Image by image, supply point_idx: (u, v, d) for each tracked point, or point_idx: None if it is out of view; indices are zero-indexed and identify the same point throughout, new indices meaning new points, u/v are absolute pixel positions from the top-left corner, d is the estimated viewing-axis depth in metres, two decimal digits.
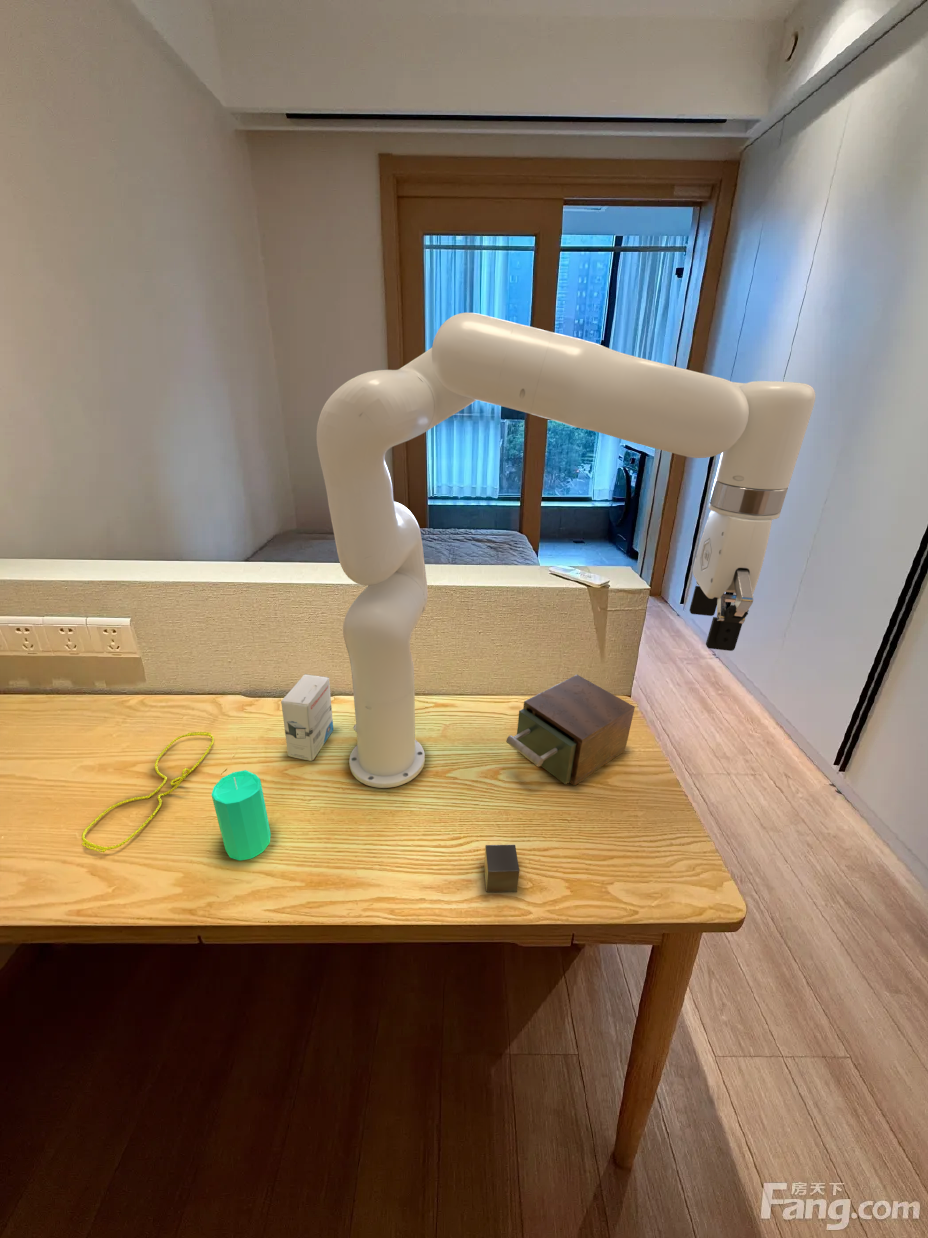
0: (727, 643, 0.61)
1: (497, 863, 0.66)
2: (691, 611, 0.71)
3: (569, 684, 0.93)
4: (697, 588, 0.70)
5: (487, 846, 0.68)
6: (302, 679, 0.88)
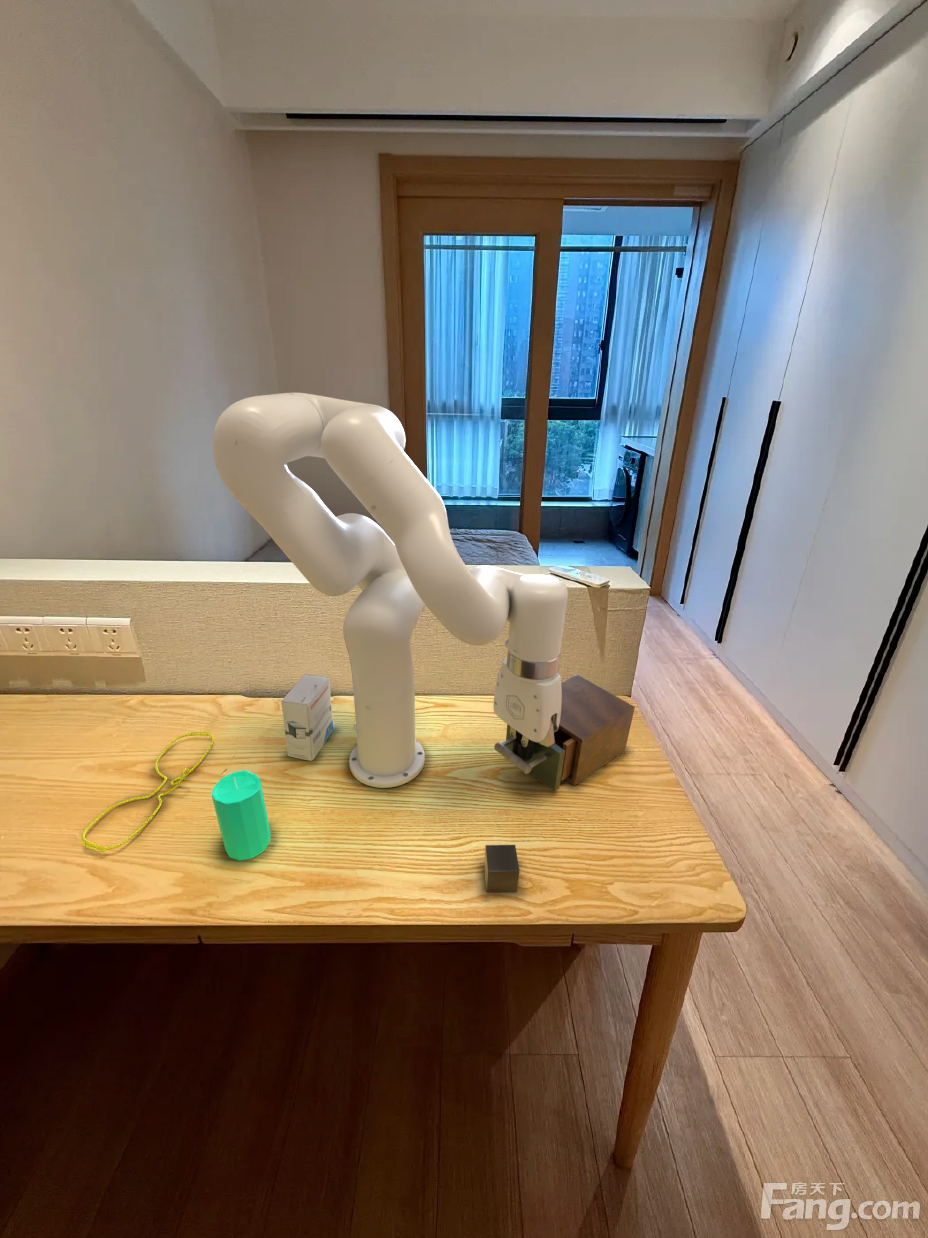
0: (531, 756, 0.81)
1: (497, 863, 0.66)
2: None
3: (569, 684, 0.93)
4: (516, 742, 0.80)
5: (487, 846, 0.68)
6: (302, 679, 0.88)
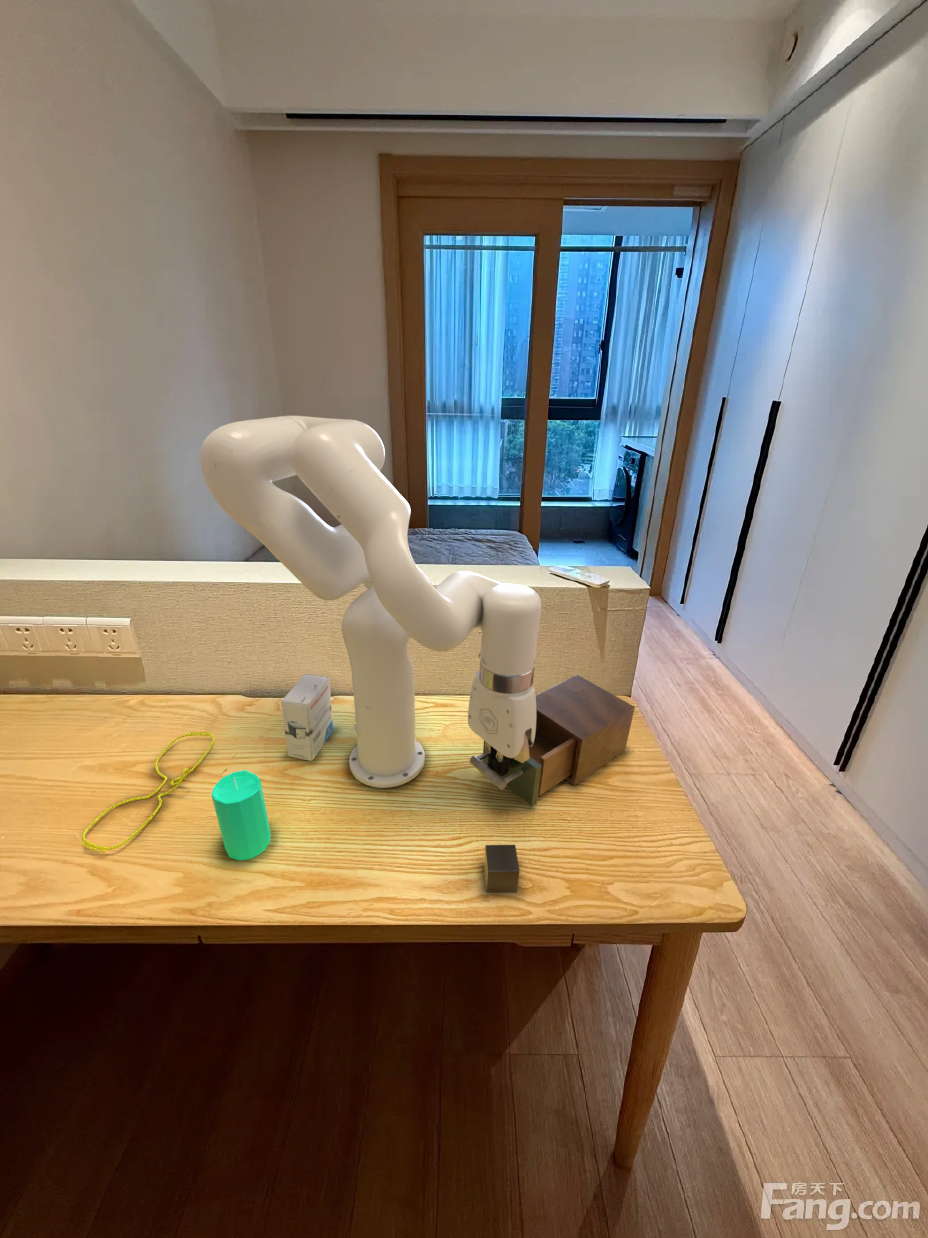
0: (506, 771, 0.78)
1: (497, 863, 0.66)
2: None
3: (569, 684, 0.93)
4: (491, 756, 0.77)
5: (487, 846, 0.68)
6: (302, 679, 0.88)
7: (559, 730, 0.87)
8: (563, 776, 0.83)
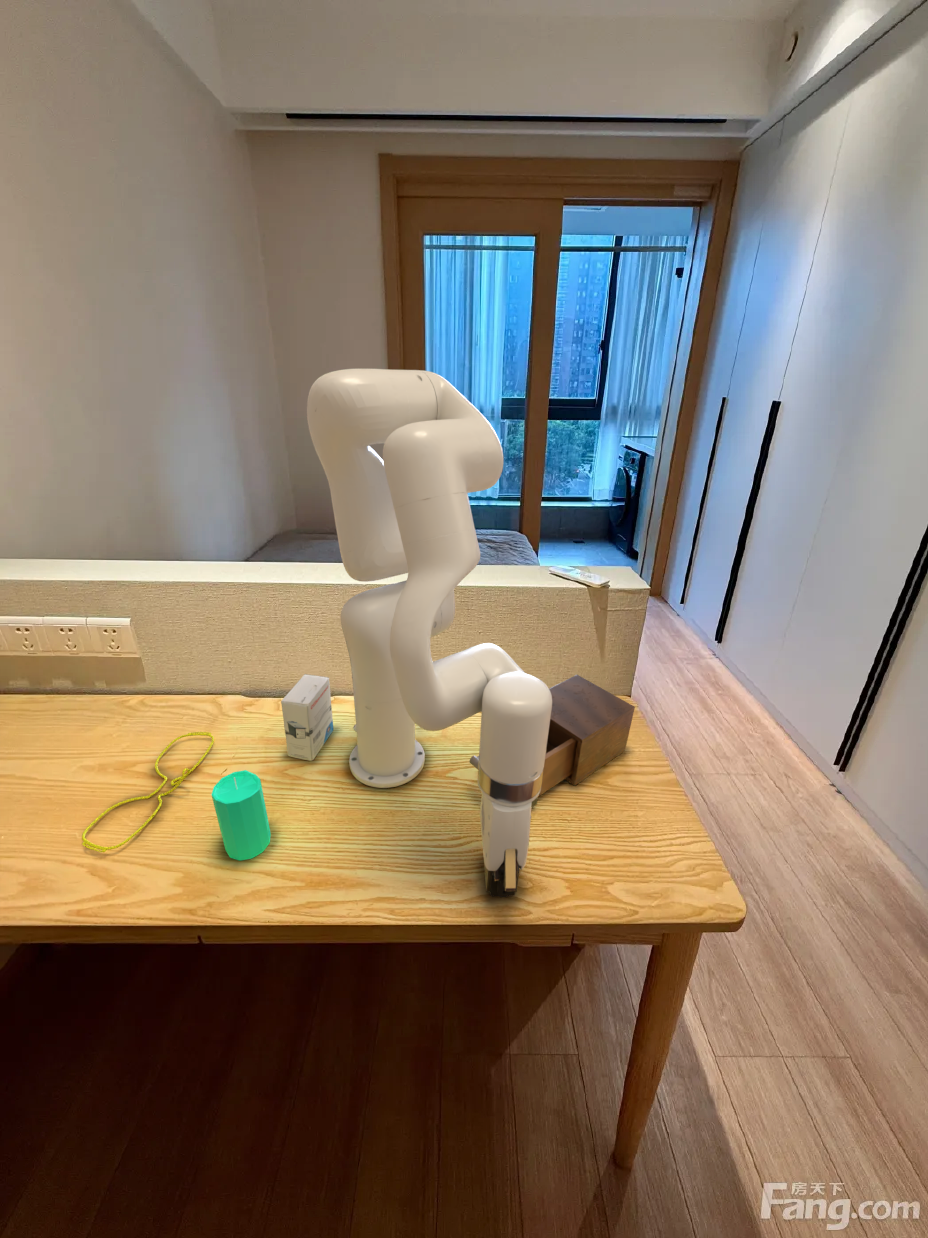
0: (506, 894, 0.65)
1: None
2: None
3: (569, 684, 0.93)
4: None
5: None
6: (302, 679, 0.88)
7: (559, 730, 0.87)
8: (563, 776, 0.83)
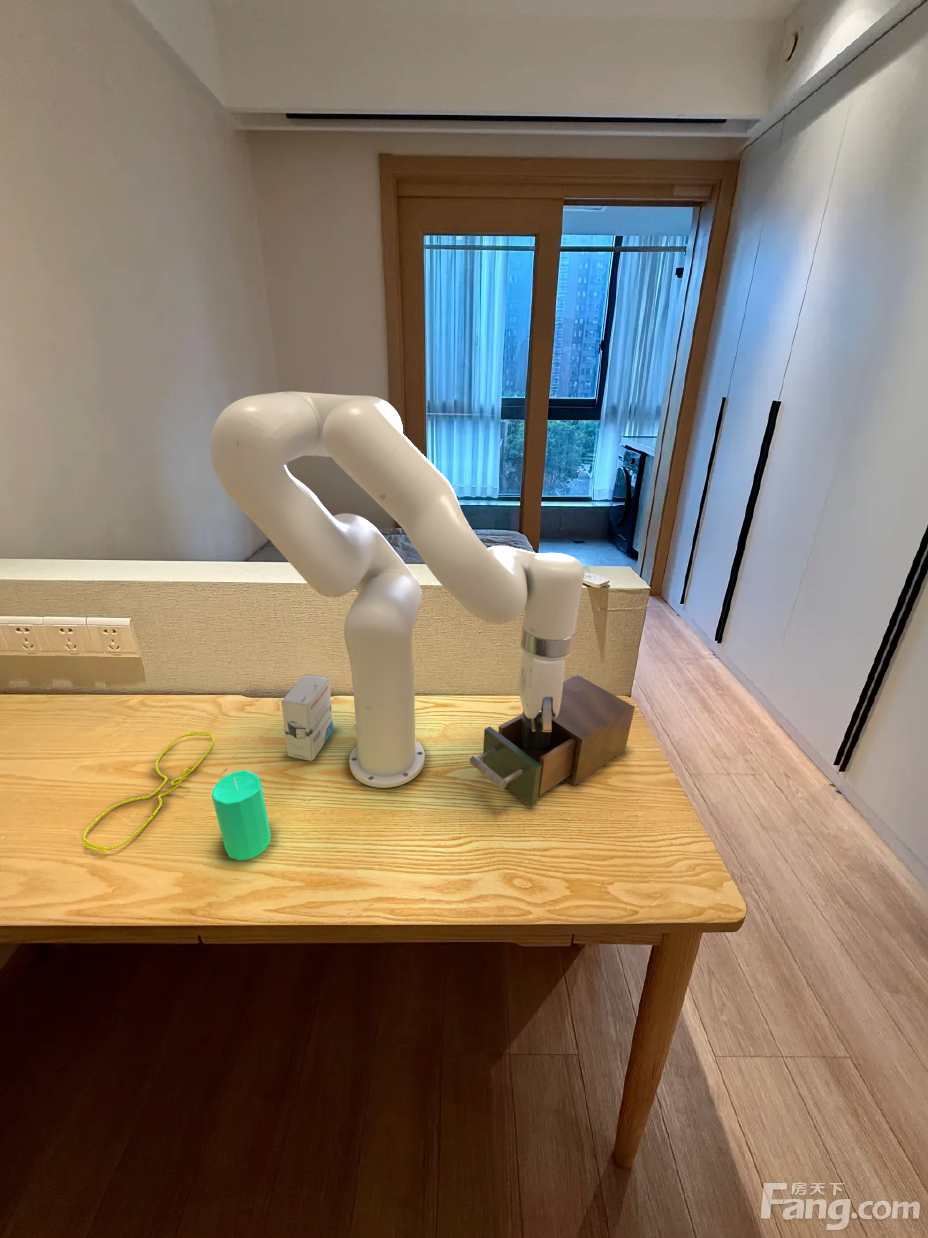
0: (540, 746, 0.79)
1: None
2: None
3: (569, 684, 0.93)
4: None
5: None
6: (302, 679, 0.88)
7: (559, 730, 0.87)
8: (563, 776, 0.83)
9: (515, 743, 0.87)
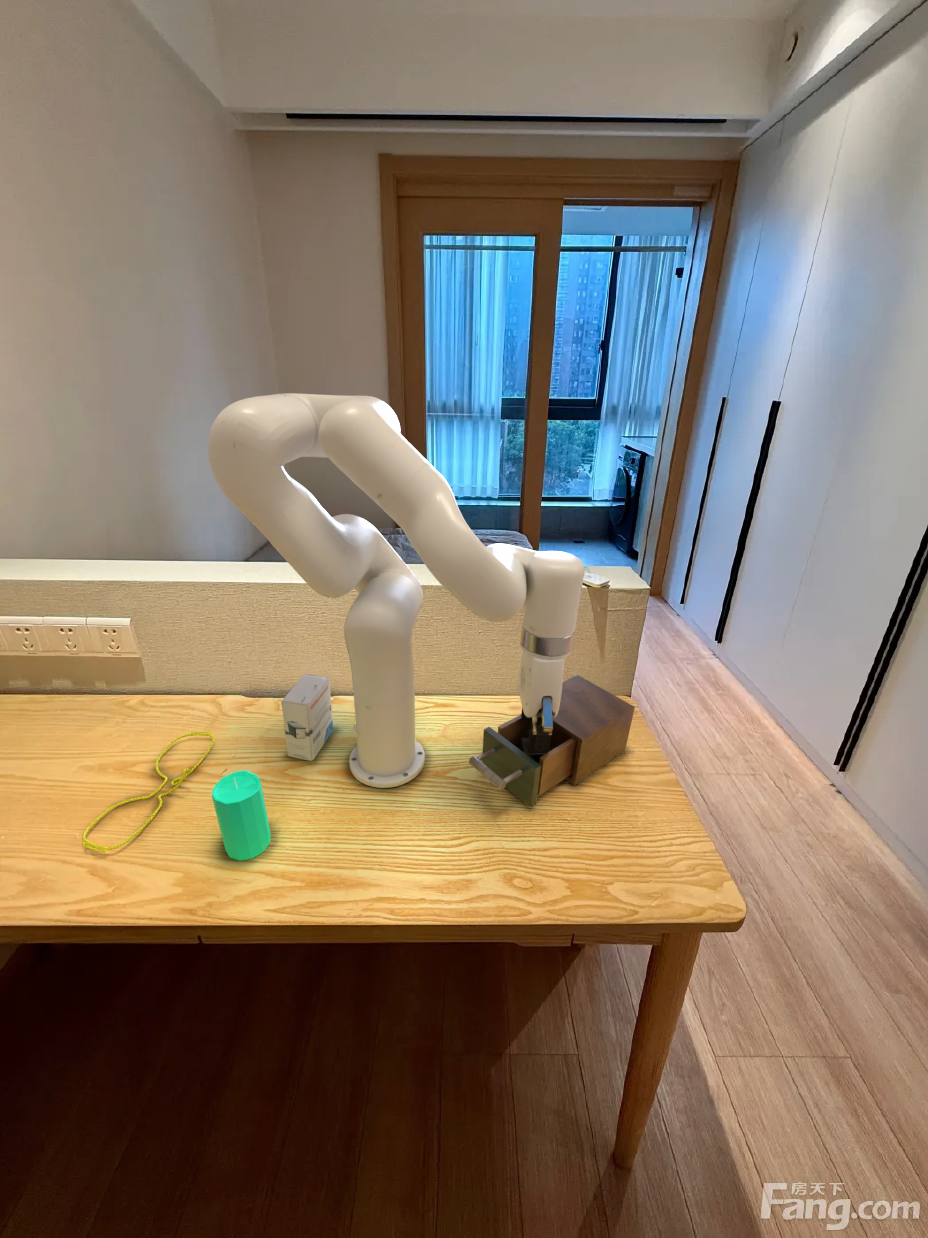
0: (542, 749, 0.77)
1: None
2: (522, 719, 0.85)
3: (569, 684, 0.93)
4: None
5: (522, 738, 0.85)
6: (302, 679, 0.88)
7: (559, 730, 0.87)
8: (562, 776, 0.83)
9: (514, 743, 0.87)
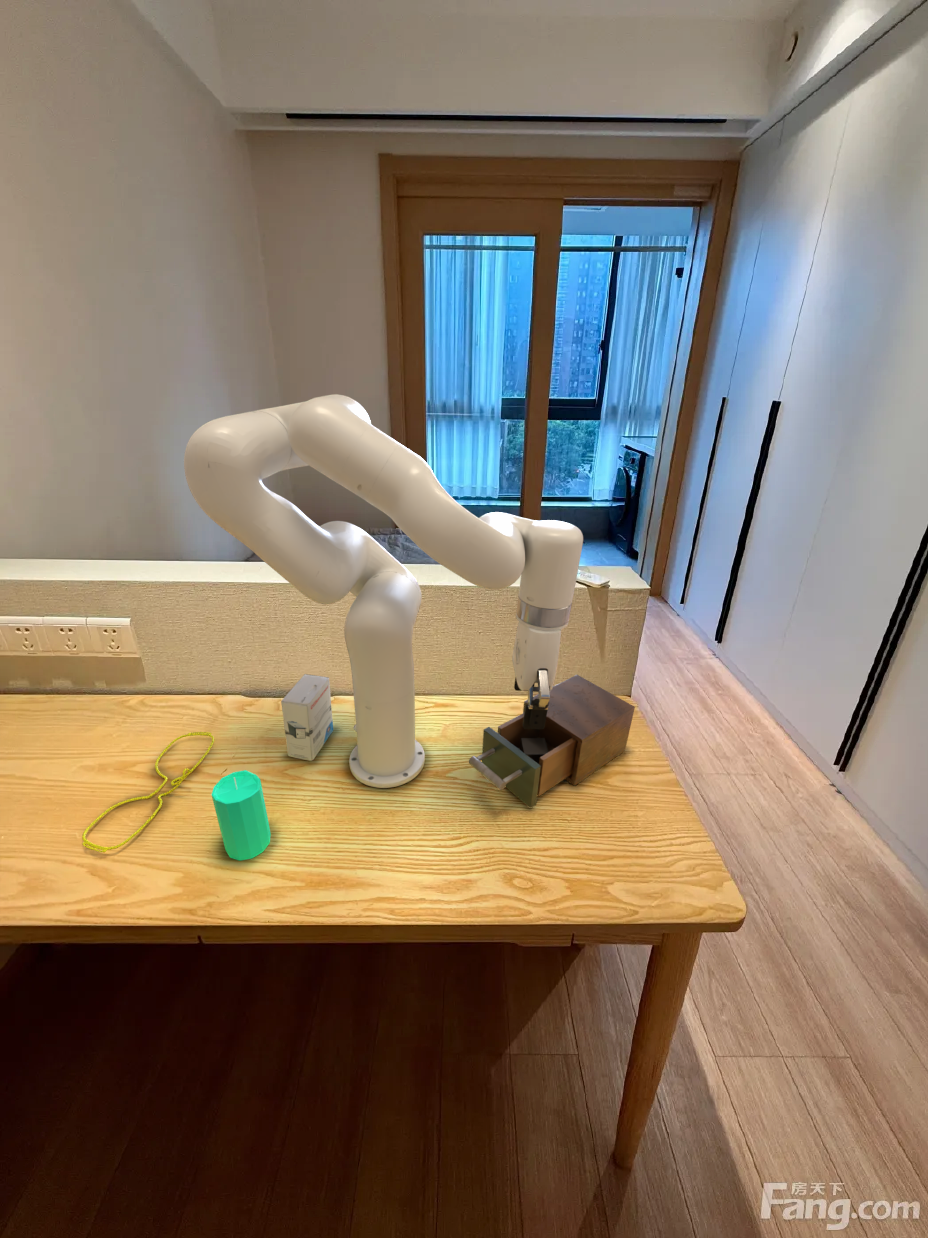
0: (537, 725, 0.75)
1: (531, 749, 0.82)
2: (515, 688, 0.84)
3: (569, 684, 0.93)
4: None
5: (522, 738, 0.85)
6: (302, 679, 0.88)
7: (559, 730, 0.87)
8: (562, 776, 0.83)
9: (514, 743, 0.87)
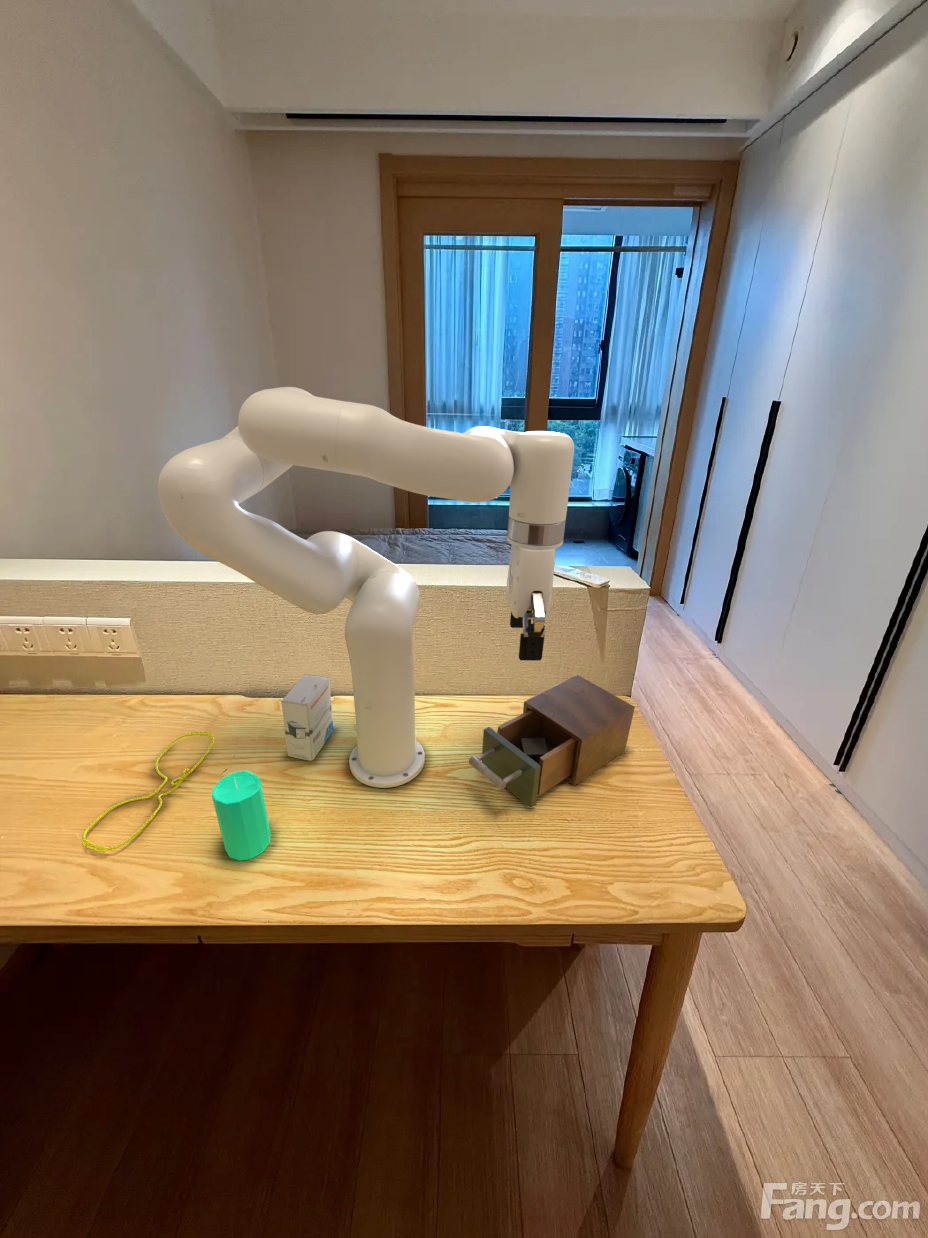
0: (534, 655, 0.71)
1: (531, 749, 0.82)
2: (511, 625, 0.80)
3: (569, 684, 0.93)
4: None
5: (522, 738, 0.85)
6: (302, 679, 0.88)
7: (559, 730, 0.87)
8: (562, 776, 0.83)
9: (514, 743, 0.87)
